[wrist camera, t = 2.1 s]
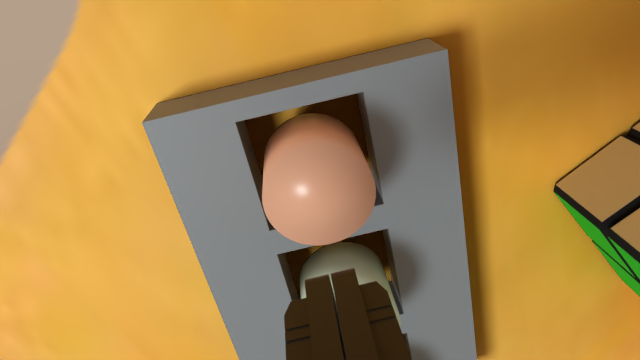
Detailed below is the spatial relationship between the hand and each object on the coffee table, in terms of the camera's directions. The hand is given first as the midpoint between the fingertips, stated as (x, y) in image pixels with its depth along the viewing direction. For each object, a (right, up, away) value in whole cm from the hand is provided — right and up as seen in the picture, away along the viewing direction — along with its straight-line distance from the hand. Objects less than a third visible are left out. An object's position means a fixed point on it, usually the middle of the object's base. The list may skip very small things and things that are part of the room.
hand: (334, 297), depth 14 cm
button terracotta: (-1, +4, +10) cm, 11 cm away
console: (+1, -1, +15) cm, 15 cm away
